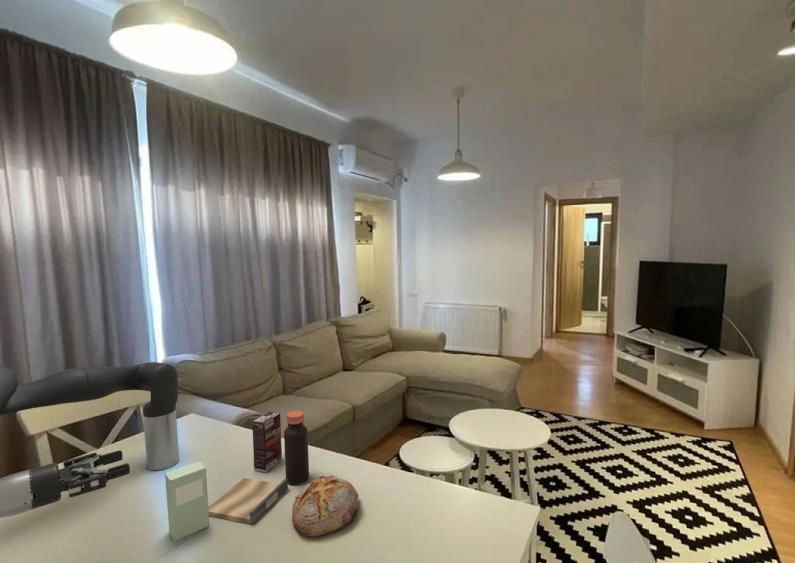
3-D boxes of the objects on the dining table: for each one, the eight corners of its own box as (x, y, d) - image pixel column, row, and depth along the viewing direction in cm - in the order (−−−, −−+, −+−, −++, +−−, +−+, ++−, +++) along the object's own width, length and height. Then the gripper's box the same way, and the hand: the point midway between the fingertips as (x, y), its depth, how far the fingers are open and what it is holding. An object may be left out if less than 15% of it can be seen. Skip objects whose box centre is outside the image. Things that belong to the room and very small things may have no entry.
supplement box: (266, 473, 128) (263, 423, 127) (253, 470, 130) (250, 421, 129) (283, 459, 136) (281, 412, 135) (271, 457, 138) (268, 411, 137)
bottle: (298, 470, 129) (296, 407, 128) (314, 477, 125) (311, 412, 124) (281, 480, 124) (278, 415, 122) (296, 488, 120) (293, 420, 118)
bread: (279, 540, 100) (274, 499, 99) (314, 492, 119) (311, 458, 118) (343, 545, 96) (338, 504, 95) (369, 496, 115) (365, 461, 114)
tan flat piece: (204, 514, 108) (203, 503, 108) (244, 481, 124) (243, 472, 123) (253, 524, 104) (253, 513, 104) (288, 489, 119) (288, 479, 119)
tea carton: (169, 532, 102) (164, 473, 101) (203, 517, 107) (199, 461, 106) (174, 541, 99) (170, 480, 98) (209, 525, 104) (205, 467, 103)
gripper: (29, 493, 87) (121, 466, 98) (30, 525, 77) (133, 490, 88) (26, 459, 87) (119, 435, 98) (27, 485, 76) (130, 455, 87)
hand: (125, 461), depth 93 cm, fingers open, 8 cm apart
